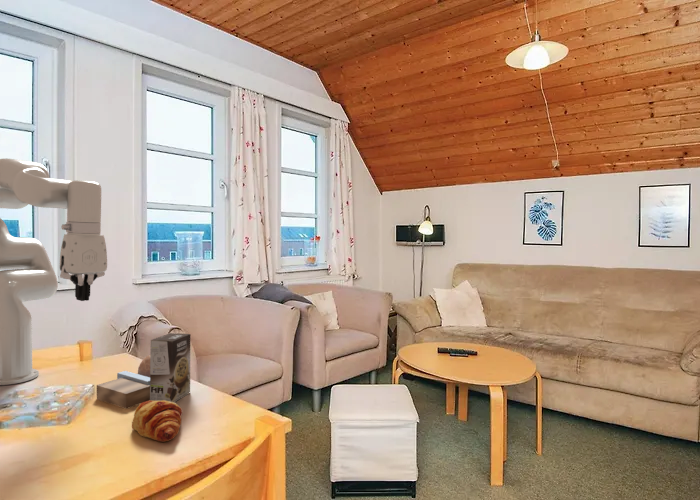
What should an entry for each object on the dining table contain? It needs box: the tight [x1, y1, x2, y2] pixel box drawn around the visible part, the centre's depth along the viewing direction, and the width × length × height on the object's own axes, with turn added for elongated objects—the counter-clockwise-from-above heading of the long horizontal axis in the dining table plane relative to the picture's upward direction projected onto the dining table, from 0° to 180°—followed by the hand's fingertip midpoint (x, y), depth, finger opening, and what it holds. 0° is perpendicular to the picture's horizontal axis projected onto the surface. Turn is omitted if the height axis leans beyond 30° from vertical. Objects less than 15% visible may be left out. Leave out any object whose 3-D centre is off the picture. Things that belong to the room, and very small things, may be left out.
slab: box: [96, 378, 150, 409], centre depth 119 cm, size 12×7×4 cm, turn 61°
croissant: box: [131, 400, 183, 443], centre depth 102 cm, size 21×10×8 cm, turn 38°
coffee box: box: [149, 332, 191, 403], centre depth 120 cm, size 9×6×16 cm
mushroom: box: [137, 354, 150, 377], centre depth 131 cm, size 8×6×8 cm
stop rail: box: [116, 370, 150, 385], centre depth 124 cm, size 13×2×4 cm, turn 60°
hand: (82, 299), depth 119 cm, fingers closed
